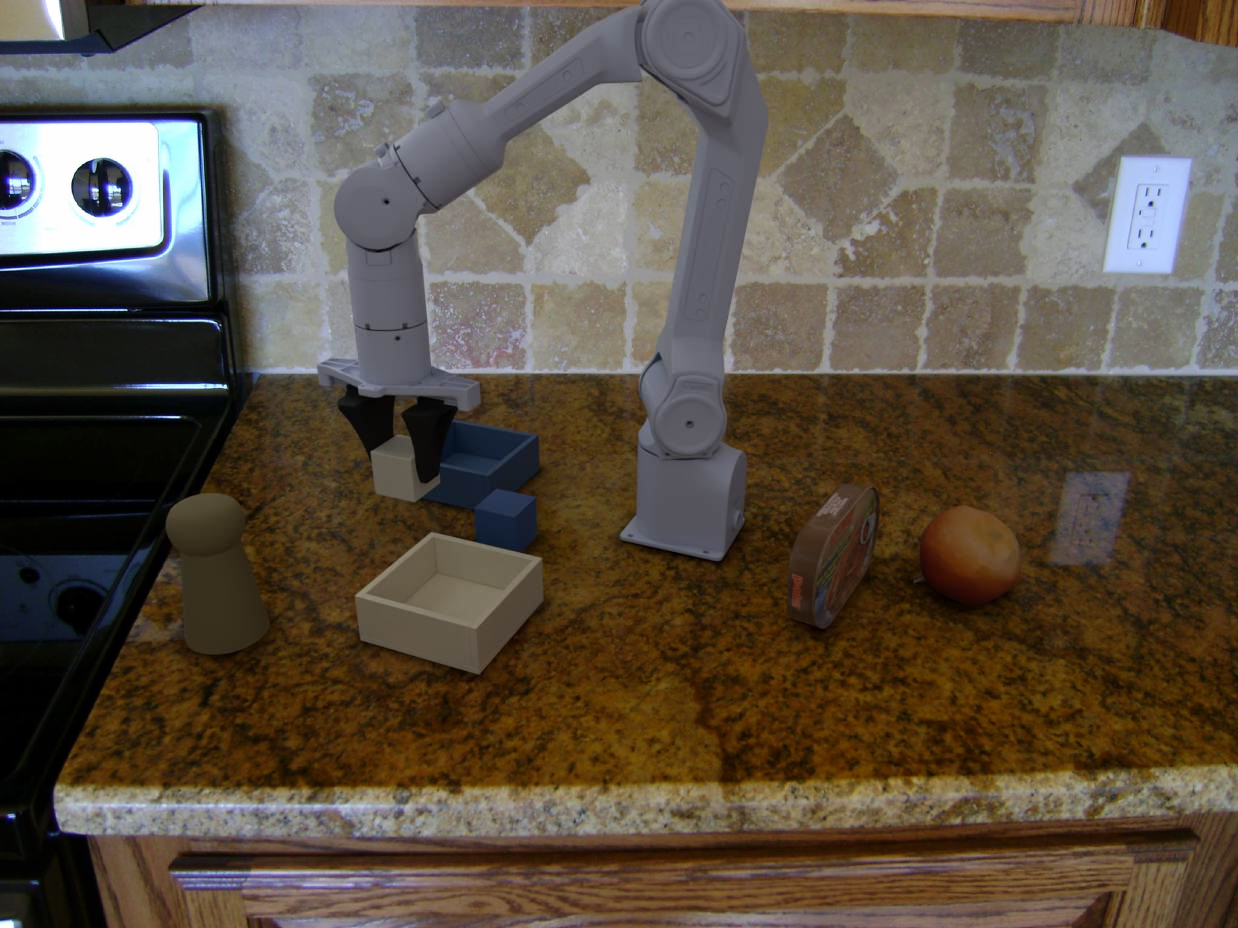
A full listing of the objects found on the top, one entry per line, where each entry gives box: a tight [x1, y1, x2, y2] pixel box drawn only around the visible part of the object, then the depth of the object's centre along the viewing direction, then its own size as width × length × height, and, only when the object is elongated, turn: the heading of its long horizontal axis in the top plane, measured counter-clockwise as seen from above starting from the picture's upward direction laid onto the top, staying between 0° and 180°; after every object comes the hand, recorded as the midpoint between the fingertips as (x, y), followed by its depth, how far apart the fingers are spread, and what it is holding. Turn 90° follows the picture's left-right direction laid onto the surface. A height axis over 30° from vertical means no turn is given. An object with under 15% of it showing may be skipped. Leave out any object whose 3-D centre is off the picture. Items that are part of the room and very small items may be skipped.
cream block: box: [371, 433, 440, 503], centre depth 80 cm, size 4×4×4 cm
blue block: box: [473, 489, 538, 553], centre depth 82 cm, size 4×4×4 cm
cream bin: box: [354, 531, 545, 676], centre depth 71 cm, size 10×10×4 cm
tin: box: [786, 482, 881, 630], centre depth 74 cm, size 15×3×8 cm, turn 148°
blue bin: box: [420, 418, 541, 511], centre depth 93 cm, size 10×10×4 cm
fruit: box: [913, 504, 1022, 607], centre depth 76 cm, size 8×8×8 cm
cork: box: [165, 492, 271, 656], centre depth 68 cm, size 6×6×11 cm
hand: (406, 473), depth 80 cm, fingers closed on cream block, 4 cm apart
